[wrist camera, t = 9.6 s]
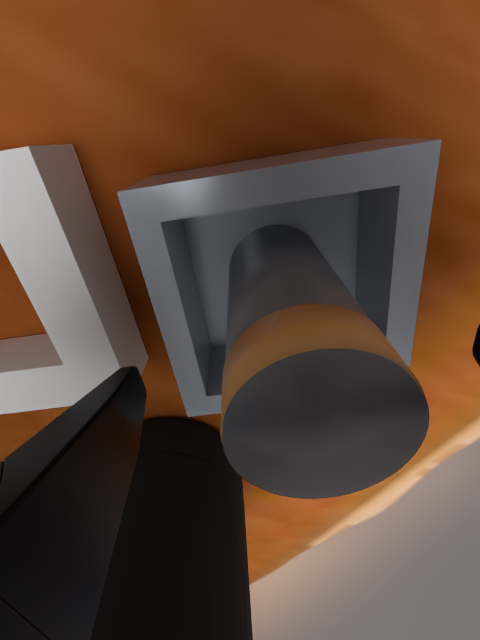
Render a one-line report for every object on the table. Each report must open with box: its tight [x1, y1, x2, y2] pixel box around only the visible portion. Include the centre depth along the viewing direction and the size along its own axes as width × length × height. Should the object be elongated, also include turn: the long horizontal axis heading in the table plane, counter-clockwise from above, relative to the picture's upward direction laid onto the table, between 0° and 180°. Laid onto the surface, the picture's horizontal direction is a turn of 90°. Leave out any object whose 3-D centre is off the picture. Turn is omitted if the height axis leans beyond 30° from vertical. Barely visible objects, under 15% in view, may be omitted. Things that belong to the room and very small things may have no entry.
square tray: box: [117, 138, 442, 417], centre depth 13 cm, size 9×9×4 cm
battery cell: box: [220, 224, 429, 499], centre depth 10 cm, size 4×4×9 cm
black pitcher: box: [90, 418, 253, 640], centre depth 17 cm, size 9×9×10 cm
